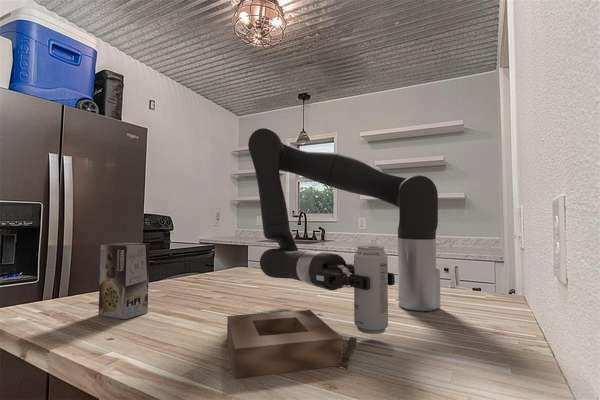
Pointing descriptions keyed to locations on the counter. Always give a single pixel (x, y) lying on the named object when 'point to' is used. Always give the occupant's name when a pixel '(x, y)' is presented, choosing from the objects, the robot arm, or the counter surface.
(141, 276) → the coffee box
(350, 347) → the brown wooden stick
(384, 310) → the energy drink can
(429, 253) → the robot arm
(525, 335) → the counter surface
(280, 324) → the socket block
